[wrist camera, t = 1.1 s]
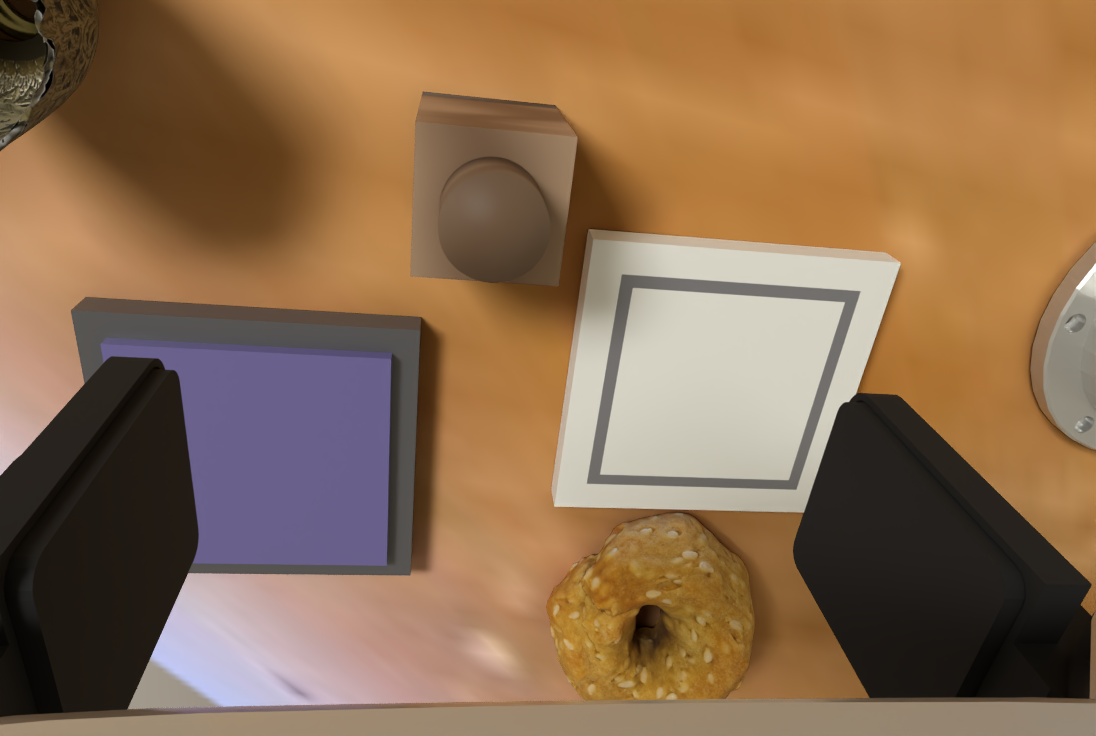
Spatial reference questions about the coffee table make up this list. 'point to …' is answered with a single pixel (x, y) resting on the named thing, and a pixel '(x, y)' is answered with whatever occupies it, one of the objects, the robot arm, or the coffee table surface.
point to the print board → (711, 369)
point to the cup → (42, 60)
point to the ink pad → (283, 428)
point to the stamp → (490, 190)
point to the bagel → (680, 633)
